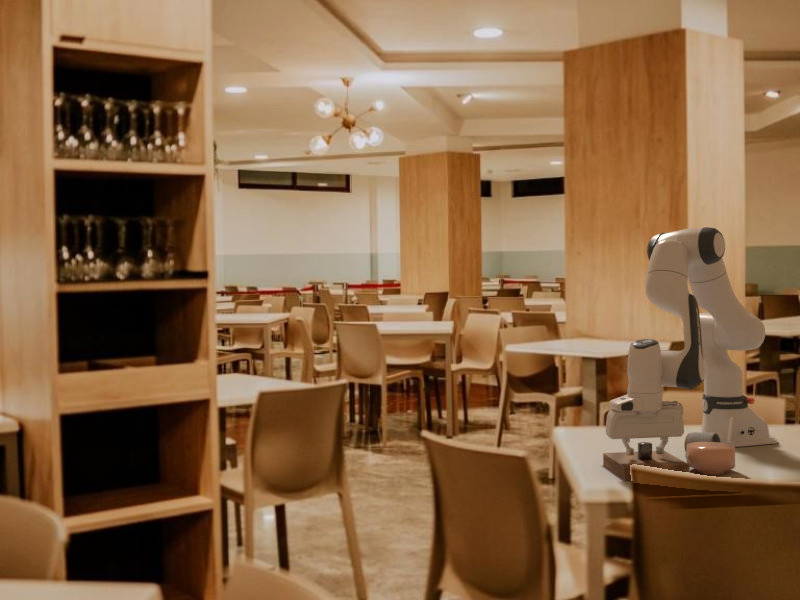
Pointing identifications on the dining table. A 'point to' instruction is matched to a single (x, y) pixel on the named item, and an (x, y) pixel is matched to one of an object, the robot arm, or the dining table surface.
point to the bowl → (711, 457)
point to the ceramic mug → (700, 438)
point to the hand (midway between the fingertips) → (645, 454)
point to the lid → (642, 461)
